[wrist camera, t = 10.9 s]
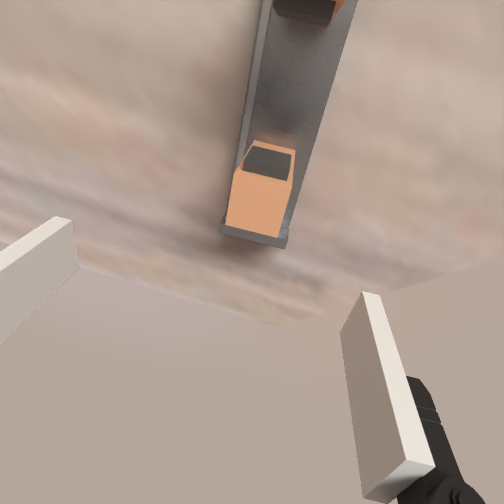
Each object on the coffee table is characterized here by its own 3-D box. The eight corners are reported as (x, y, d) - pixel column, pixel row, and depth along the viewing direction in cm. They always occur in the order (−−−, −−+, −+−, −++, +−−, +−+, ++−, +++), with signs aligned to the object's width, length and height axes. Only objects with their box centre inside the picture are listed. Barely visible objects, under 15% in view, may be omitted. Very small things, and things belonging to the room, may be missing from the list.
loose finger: (241, 206, 32) (219, 257, 24) (256, 131, 28) (235, 161, 20) (277, 215, 32) (268, 269, 24) (297, 141, 28) (295, 176, 20)
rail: (228, 212, 35) (218, 233, 31) (293, -164, 20) (290, -223, 16) (287, 226, 35) (284, 249, 31) (397, -140, 20) (422, -193, 16)
